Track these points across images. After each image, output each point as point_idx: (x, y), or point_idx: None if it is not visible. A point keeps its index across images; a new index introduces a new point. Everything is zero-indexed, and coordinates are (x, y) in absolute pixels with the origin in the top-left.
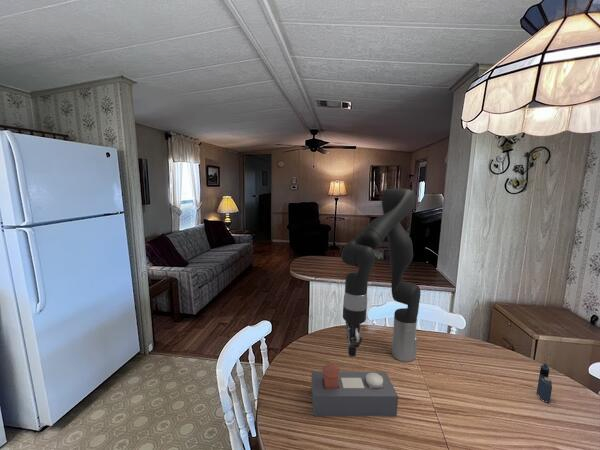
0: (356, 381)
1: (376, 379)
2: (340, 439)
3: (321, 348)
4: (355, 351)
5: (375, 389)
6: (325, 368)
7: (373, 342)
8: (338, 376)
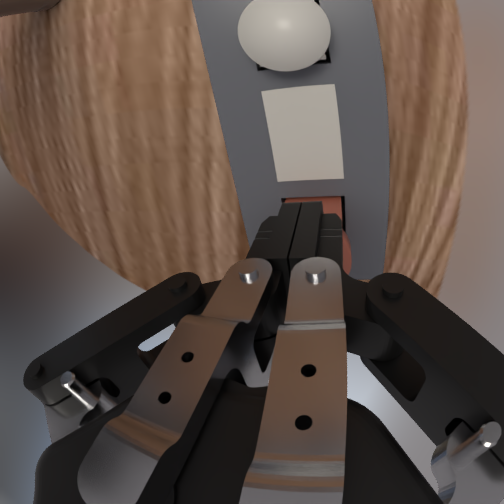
0: (292, 114)
1: (293, 21)
2: (451, 177)
3: (89, 207)
4: (319, 224)
5: (333, 34)
6: None
7: (21, 68)
8: None
